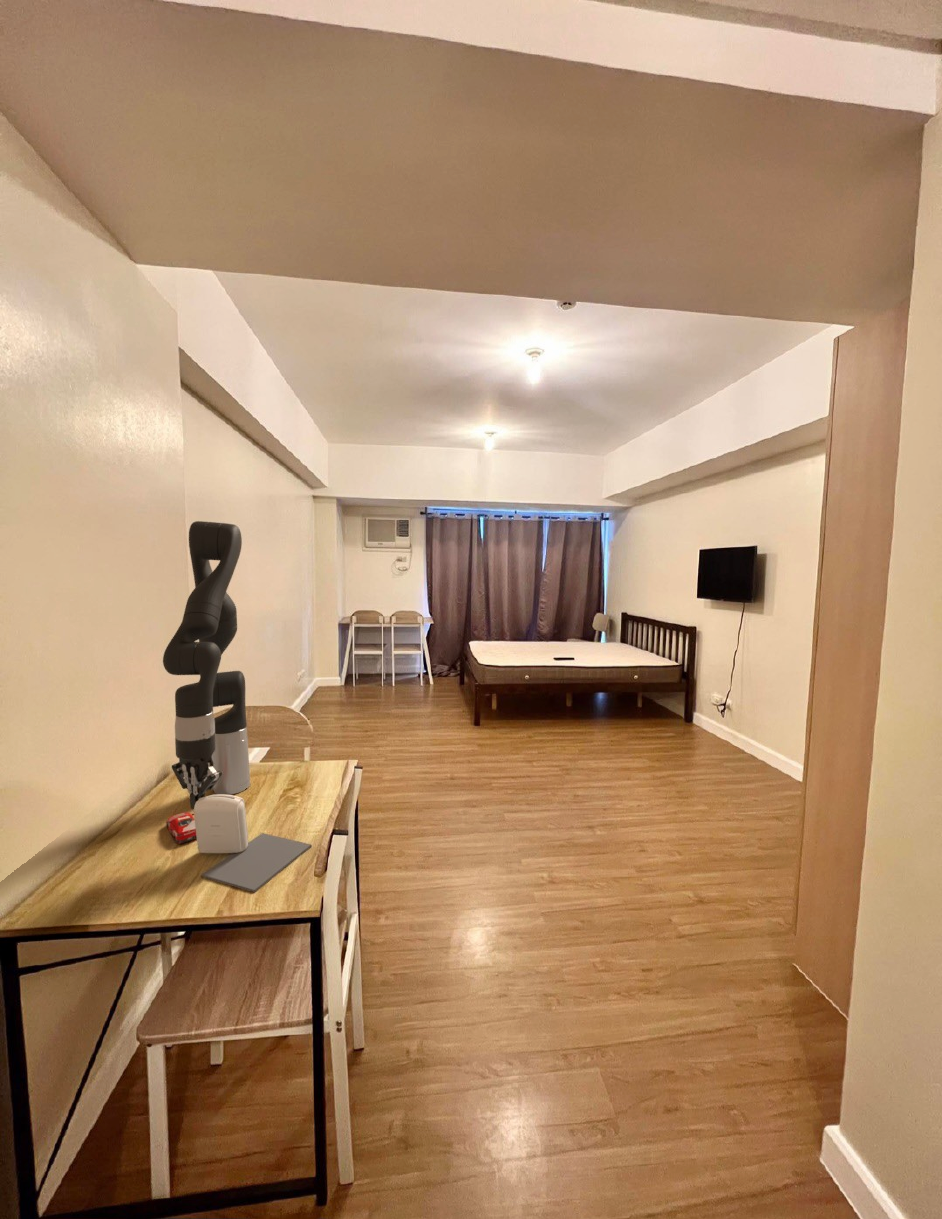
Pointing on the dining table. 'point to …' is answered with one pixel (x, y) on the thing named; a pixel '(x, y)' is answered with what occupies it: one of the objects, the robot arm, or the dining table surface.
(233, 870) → the gray mat
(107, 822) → the dining table surface
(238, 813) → the photo printer
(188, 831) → the race car
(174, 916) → the dining table surface
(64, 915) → the dining table surface
